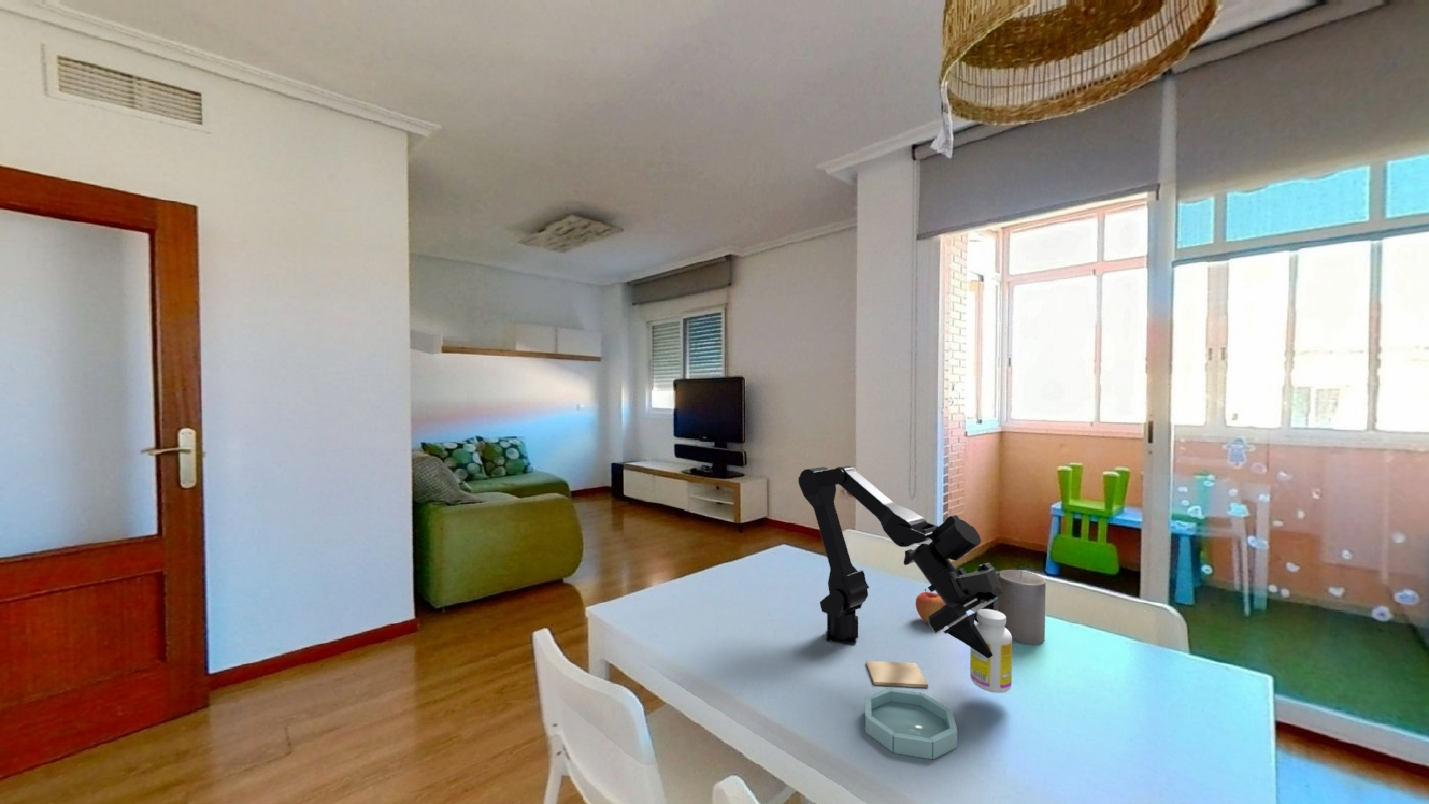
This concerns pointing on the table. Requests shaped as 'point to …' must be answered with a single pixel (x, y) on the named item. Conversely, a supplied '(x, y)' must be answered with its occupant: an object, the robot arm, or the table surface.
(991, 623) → the supplement bottle
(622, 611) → the table surface
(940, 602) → the apple
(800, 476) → the robot arm
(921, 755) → the bowl
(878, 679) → the cork mat
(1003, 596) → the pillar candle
